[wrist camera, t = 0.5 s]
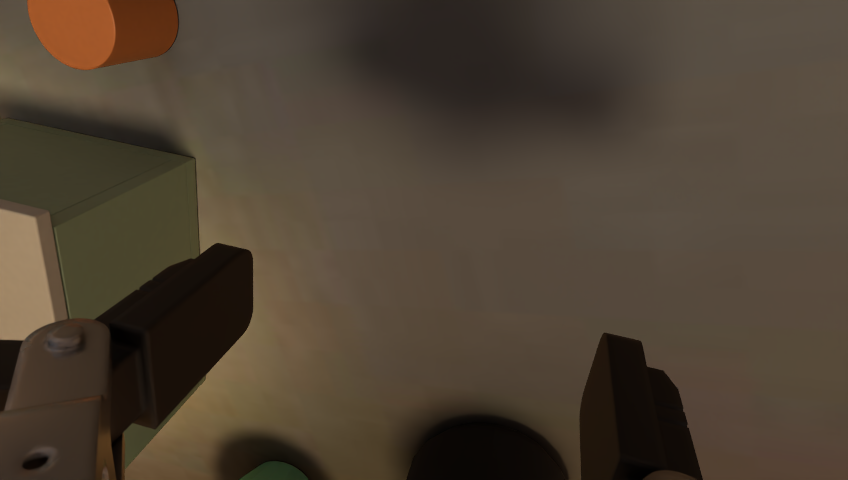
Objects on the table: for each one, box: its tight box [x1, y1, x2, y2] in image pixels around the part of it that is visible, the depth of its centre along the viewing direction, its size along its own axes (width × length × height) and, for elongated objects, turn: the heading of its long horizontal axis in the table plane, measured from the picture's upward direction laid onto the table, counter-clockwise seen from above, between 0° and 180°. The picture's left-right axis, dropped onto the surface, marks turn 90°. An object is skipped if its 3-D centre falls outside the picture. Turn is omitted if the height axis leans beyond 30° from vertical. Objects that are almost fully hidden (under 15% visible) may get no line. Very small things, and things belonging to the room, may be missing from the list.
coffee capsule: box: [27, 0, 178, 70], centre depth 28 cm, size 5×5×5 cm
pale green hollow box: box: [0, 118, 205, 469], centre depth 34 cm, size 17×13×10 cm
